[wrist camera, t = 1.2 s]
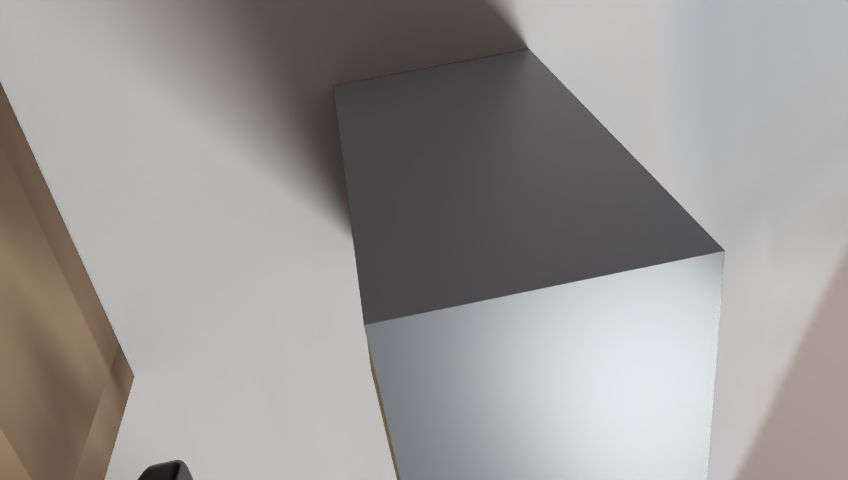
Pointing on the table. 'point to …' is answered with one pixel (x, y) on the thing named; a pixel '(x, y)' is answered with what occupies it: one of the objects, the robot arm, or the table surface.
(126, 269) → the table surface
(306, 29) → the table surface
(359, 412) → the table surface
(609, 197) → the grey rectangular block
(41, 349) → the walled box
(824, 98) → the table surface
